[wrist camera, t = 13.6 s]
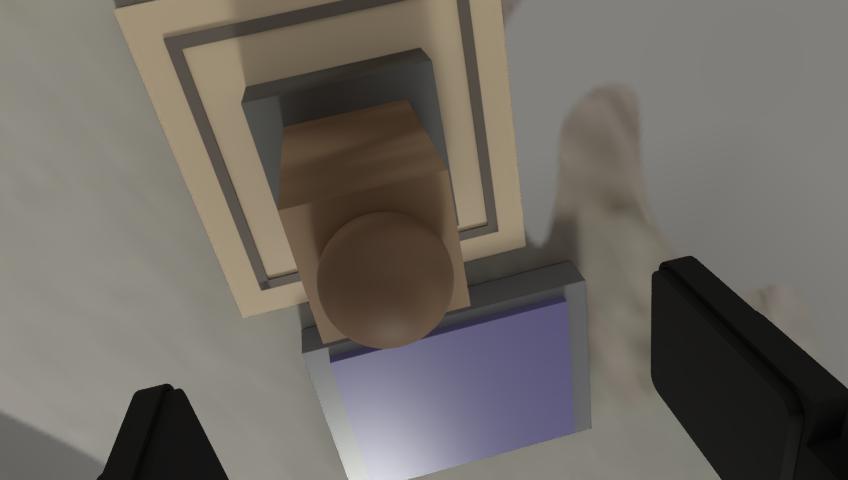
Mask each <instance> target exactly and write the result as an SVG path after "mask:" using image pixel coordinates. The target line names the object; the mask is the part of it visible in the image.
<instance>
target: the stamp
mask: <svg viewBox="0 0 848 480" xmlns="http://www.w3.org/2000/svg"><path fill="white" fill-rule="evenodd" d="M241 106H242V109H243V111H244V114H245V117H246V120H247V123H248V126H249V129H250V132H251V135H252V138H253V141H254V144H255V146H256V149H257V152H258V155H259V158H260V161H261V164H262V167H263V170H264V173H265V176H266V179H267V181H268V184H269V187H270V190H271V193H272V196H273V199H274V202H275V205H276V208H277V211H278V214H279V217H280V220H281V223H282V225H283V228H284V231H285V234H286V237H287V240H288V243H289V246H290V249H291V252H292V255H293V258H294V260H295V263H296V266H297V269H298V272H299V275H300V278H301V281H302V284H303V287H304V290H305V293H306V295H307V298H308V301H309V304H310V307H311V310H312V313H313V316H314V319H315V322H316V325H317V328H318V330H319V333H320V336H321V339H322V342H323V344H325V343H329V342H333V341H337V340H341V339H345V338H349V339H351V340H352V341H355V342H357V343H359V344H362V345H365V346H368V347H372V348H379V349H390V348H398V347H403V346H406V345H409V344H411V343H414V342H416V341H418V340H420V339H421V338H423V337H424V336H426V335H427V334H428V333H429V332H431V331H432V330H433V329H434V328H435V327H436V326H437V324H438V323H439V322H440V321H441V319H442V318H443V317H444V315H445V313H446V312H449V311H453V310H457V309H460V308H464V307H468V306H471V305H470V299H469V293H468V287H467V281H466V275H465V269H464V263H463V257H462V251H461V245H460V239H459V233H458V227H457V226H459V220H458V214H457V208H456V202H455V196H454V190H453V184H452V178H451V172H450V166H449V160H448V154H447V148H446V142H445V136H444V130H443V124H442V118H441V112H440V106H439V100H438V94H437V88H436V82H435V76H434V70H433V64H432V60H431V59H430V58H429V57H428V55H427V54H426V53H425V52H424V51H423V50H422V49H421V48H416V49H411V50H407V51H403V52H398V53H394V54H389V55H385V56H380V57H376V58H371V59H367V60H363V61H358V62H354V63H349V64H345V65H340V66H336V67H331V68H327V69H323V70H318V71H314V72H309V73H305V74H300V75H296V76H291V77H287V78H283V79H278V80H274V81H269V82H265V83H260V84H256V85H251V86H247V87H246V88H245V91H244V95H243V98H242V101H241Z"/></svg>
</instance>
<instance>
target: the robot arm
mask: <svg viewBox="0 0 848 480" xmlns="http://www.w3.org/2000/svg"><path fill="white" fill-rule="evenodd" d="M651 377H652V381H653V384H654V387H655V389H656V390H657V392H658V393H659V395H660V396H661V398H662V399H663V400H664V402H665V403H666V404H667V406H668V407H669V408H670V410H671V411H672V413H673V414H674V415H675V417H676V418H677V419H678V421H679V422H680V423H681V425H682V426H683V428H684V429H685V430H686V432H687V433H688V434H689V436H690V437H691V438H692V440H693V441H694V443H695V444H696V445H697V447H698V448H699V449H700V451H701V452H702V453H703V455H704V456H705V458H706V459H707V460H708V462H709V463H710V464H711V466H712V467H713V469H714V470H715V471H716V473H717V474H718V475H719V477H720V478H721V479H722V480H848V389H847V388H846V387H845V386H844V385H843V384H842V383H841V382H839V381H838V380H837V379H836V378H835V377H834V376H833V375H831V374H830V373H829V372H828V371H827V370H826V369H824V368H823V367H822V366H821V365H820V364H819V363H818V362H816V361H815V360H814V359H813V358H812V357H811V356H810V355H808V354H807V353H806V352H805V351H804V350H803V349H801V348H800V347H799V346H798V345H797V344H796V343H795V342H793V341H792V340H791V339H790V338H789V337H788V336H786V335H785V334H784V333H783V332H782V331H781V330H780V329H778V328H777V327H776V326H775V325H774V324H773V323H772V322H770V321H769V320H768V319H767V318H766V317H765V316H763V315H762V314H760V313H759V312H757V311H755V310H754V309H753V308H752V307H751V306H750V305H748V304H747V303H746V302H745V301H744V300H743V299H742V298H740V297H739V296H738V295H737V294H736V293H735V292H734V291H732V290H731V289H730V288H729V287H728V286H727V285H725V284H724V283H723V282H722V281H721V280H720V279H719V278H718V277H716V276H715V275H714V274H713V273H712V272H711V271H709V270H708V269H707V268H706V267H705V266H704V265H703V264H701V263H700V262H699V261H698V260H697V259H696V258H694V257H693V256H686V257H682V258H678V259H674V260H669V261H665V262H662V263H661V264H660V266H659V271H655V272H654V273H653V274H652V298H651ZM97 480H229V479H228V477H227V475H226V473H225V471H224V469H223V467H222V465H221V463H220V461H219V459H218V457H217V455H216V453H215V451H214V450H213V448H212V446H211V444H210V442H209V440H208V438H207V436H206V434H205V432H204V430H203V428H202V426H201V424H200V422H199V420H198V418H197V416H196V414H195V412H194V410H193V408H192V406H191V404H190V402H189V400H188V398H187V396H186V394H185V393H184V391H183V390H182V389H175V390H174V388H173V387H172V386H171V385H170V384H163V385H159V386H155V387H151V388H146V389H142V390H138V391H137V392H135V394H134V396H133V398H132V400H131V403H130V405H129V408H128V410H127V413H126V415H125V418H124V420H123V423H122V425H121V428H120V430H119V433H118V436H117V438H116V441H115V443H114V446H113V448H112V451H111V453H110V456H109V458H108V461H107V463H106V466H105V468H104V471H103V473H102V474H101V475H100V476H99V477H98V478H97Z"/></svg>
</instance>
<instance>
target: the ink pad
mask: <svg viewBox="0 0 848 480" xmlns="http://www.w3.org/2000/svg"><path fill="white" fill-rule="evenodd" d="M468 293H469V299H470V305H471V306H468V307H464V308H460V309H457V310H453V311H449V312H446V313H445V315H444V317H443V318H442V319H441V321H440V322H439V323H438V324H437V326H436V327H435V328H434V329H433V330H432V331H431V332H429V333H428V334H427V335H426V336H424V337H423V338H421V339H420V340H418V341H416V342H414V343H411V344H409V345H406V346H403V347H398V348H390V349H379V348H372V347H368V346H365V345H362V344H359V343H357V342H355V341H352V340H351V339H349V338H345V339H341V340H337V341H333V342H329V343H325V344H323V342H322V339H321V336H320V333H319V330H318V328H317V326H314V327H310V328H306V329H302V355H303V358H304V361H305V363H306V366H307V369H308V372H309V374H310V377H311V380H312V382H313V385H314V388H315V390H316V393H317V396H318V398H319V401H320V404H321V407H322V409H323V412H324V415H325V417H326V420H327V423H328V425H329V428H330V431H331V434H332V436H333V439H334V442H335V444H336V447H337V450H338V452H339V455H340V458H341V461H342V463H343V466H344V469H345V471H346V474H347V477H348V479H349V480H407V479H411V478H415V477H418V476H422V475H425V474H429V473H433V472H436V471H440V470H443V469H447V468H451V467H454V466H458V465H461V464H465V463H468V462H472V461H476V460H479V459H483V458H486V457H490V456H494V455H497V454H501V453H504V452H508V451H512V450H515V449H519V448H522V447H526V446H529V445H533V444H537V443H540V442H544V441H547V440H551V439H555V438H558V437H562V436H565V435H569V434H573V433H576V432H580V431H583V430H587V429H590V428H592V423H591V400H590V377H589V354H588V330H587V307H586V284H585V279H584V278H583V277H582V275H581V274H580V273H579V271H578V270H577V269H576V268H575V266H574V265H573V264H572V262H571V261H567V262H563V263H559V264H555V265H552V266H548V267H544V268H540V269H536V270H532V271H528V272H524V273H520V274H516V275H513V276H509V277H505V278H501V279H497V280H493V281H489V282H485V283H481V284H477V285H474V286H470V287H468Z"/></svg>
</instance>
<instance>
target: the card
mask: <svg viewBox="0 0 848 480" xmlns="http://www.w3.org/2000/svg"><path fill="white" fill-rule="evenodd" d="M113 11H114V13H115V15H116V18H117V20H118V23H119V25H120V27H121V30H122V32H123V34H124V37H125V39H126V42H127V44H128V46H129V49H130V51H131V53H132V56H133V58H134V61H135V63H136V65H137V68H138V70H139V72H140V75H141V77H142V80H143V82H144V84H145V87H146V89H147V91H148V94H149V96H150V99H151V101H152V103H153V106H154V108H155V110H156V113H157V115H158V118H159V120H160V122H161V125H162V127H163V129H164V132H165V134H166V137H167V139H168V141H169V144H170V146H171V148H172V151H173V153H174V156H175V158H176V160H177V163H178V165H179V167H180V170H181V172H182V175H183V177H184V179H185V182H186V184H187V186H188V189H189V191H190V194H191V196H192V198H193V201H194V203H195V205H196V208H197V210H198V213H199V215H200V217H201V220H202V222H203V224H204V227H205V229H206V232H207V234H208V236H209V239H210V241H211V243H212V246H213V248H214V251H215V253H216V255H217V258H218V260H219V262H220V265H221V267H222V270H223V272H224V274H225V277H226V279H227V281H228V284H229V286H230V289H231V291H232V293H233V296H234V298H235V300H236V303H237V305H238V308H239V310H240V312H241V315H242V317H243V318H245V317H249V316H253V315H257V314H261V313H265V312H269V311H273V310H277V309H281V308H285V307H289V306H293V305H297V304H301V303H305V302H309V301H308V298H307V295H306V293H305V290H304V287H303V284H302V281H301V278H300V275H299V272H298V269H297V266H296V263H295V260H294V258H293V255H292V252H291V249H290V246H289V243H288V240H287V237H286V234H285V231H284V228H283V225H282V223H281V220H280V217H279V214H278V211H277V208H276V205H275V202H274V199H273V196H272V193H271V190H270V187H269V184H268V181H267V179H266V176H265V173H264V170H263V167H262V164H261V161H260V158H259V155H258V152H257V149H256V146H255V144H254V141H253V138H252V135H251V132H250V129H249V126H248V123H247V120H246V117H245V114H244V111H243V109H242V106H241V101H242V98H243V95H244V91H245V88H246V87H247V86H251V85H256V84H260V83H265V82H269V81H274V80H278V79H283V78H287V77H291V76H296V75H300V74H305V73H309V72H314V71H318V70H323V69H327V68H331V67H336V66H340V65H345V64H349V63H354V62H358V61H363V60H367V59H371V58H376V57H380V56H385V55H389V54H394V53H398V52H403V51H407V50H411V49H416V48H421V49H422V50H423V51H424V52H425V53H426V54H427V55H428V57H429V58H430V59H431V60H432V64H433V70H434V76H435V82H436V88H437V94H438V100H439V106H440V112H441V118H442V124H443V130H444V136H445V142H446V148H447V154H448V160H449V166H450V172H451V178H452V184H453V190H454V196H455V202H456V208H457V214H458V220H459V226H457V227H458V233H459V239H460V245H461V251H462V257H463V262H467V261H470V260H474V259H478V258H482V257H486V256H490V255H494V254H498V253H502V252H506V251H510V250H514V249H518V248H522V247H526V241H525V232H524V222H523V212H522V203H521V192H520V183H519V173H518V163H517V153H516V144H515V134H514V124H513V114H512V104H511V96H510V85H509V75H508V65H507V55H506V45H505V36H504V26H503V16H502V6H501V0H153V1H148V2H143V3H138V4H134V5H129V6H124V7H120V8H115V9H114V10H113Z"/></svg>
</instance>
